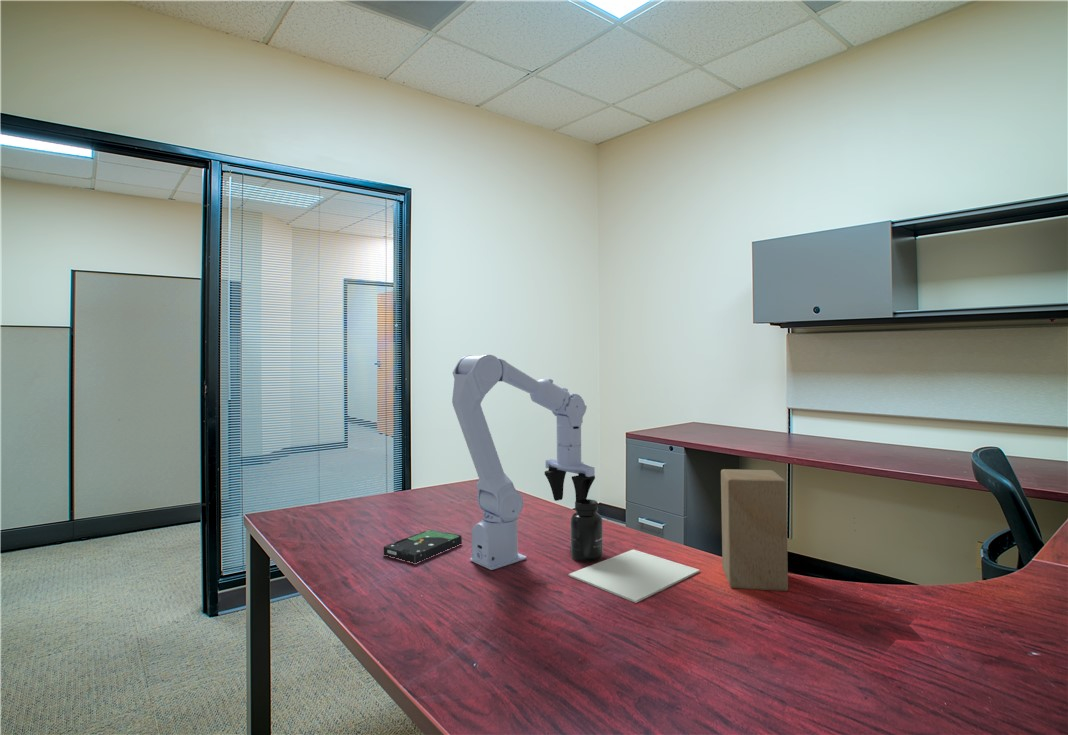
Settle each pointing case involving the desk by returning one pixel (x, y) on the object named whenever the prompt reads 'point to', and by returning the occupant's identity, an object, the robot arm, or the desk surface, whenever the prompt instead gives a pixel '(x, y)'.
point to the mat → (634, 575)
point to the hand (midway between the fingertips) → (569, 502)
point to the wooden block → (754, 529)
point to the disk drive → (422, 545)
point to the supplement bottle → (586, 532)
